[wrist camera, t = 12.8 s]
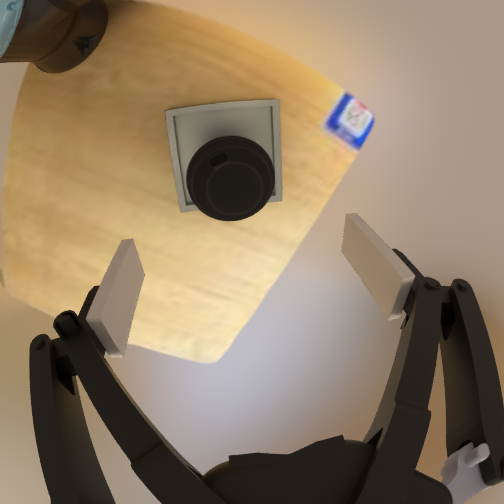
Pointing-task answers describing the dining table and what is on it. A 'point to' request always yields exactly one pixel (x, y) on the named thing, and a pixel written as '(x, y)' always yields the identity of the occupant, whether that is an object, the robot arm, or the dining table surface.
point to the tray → (219, 124)
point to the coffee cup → (230, 178)
